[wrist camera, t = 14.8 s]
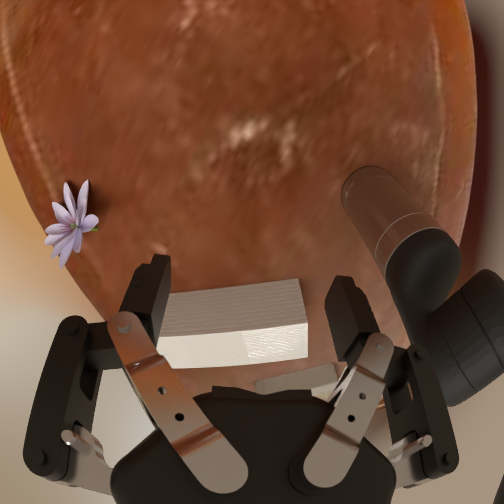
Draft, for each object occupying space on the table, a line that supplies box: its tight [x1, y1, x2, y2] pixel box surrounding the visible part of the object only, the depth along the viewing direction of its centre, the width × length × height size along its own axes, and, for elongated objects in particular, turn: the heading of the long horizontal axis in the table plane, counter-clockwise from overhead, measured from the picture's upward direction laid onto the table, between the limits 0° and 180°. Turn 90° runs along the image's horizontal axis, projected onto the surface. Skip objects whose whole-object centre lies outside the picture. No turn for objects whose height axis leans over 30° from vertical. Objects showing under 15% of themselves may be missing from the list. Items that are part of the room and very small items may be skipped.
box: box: [255, 362, 339, 401], centre depth 79 cm, size 23×8×32 cm
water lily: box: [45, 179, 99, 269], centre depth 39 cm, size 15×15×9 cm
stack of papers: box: [156, 278, 308, 368], centre depth 52 cm, size 32×11×11 cm, turn 98°
